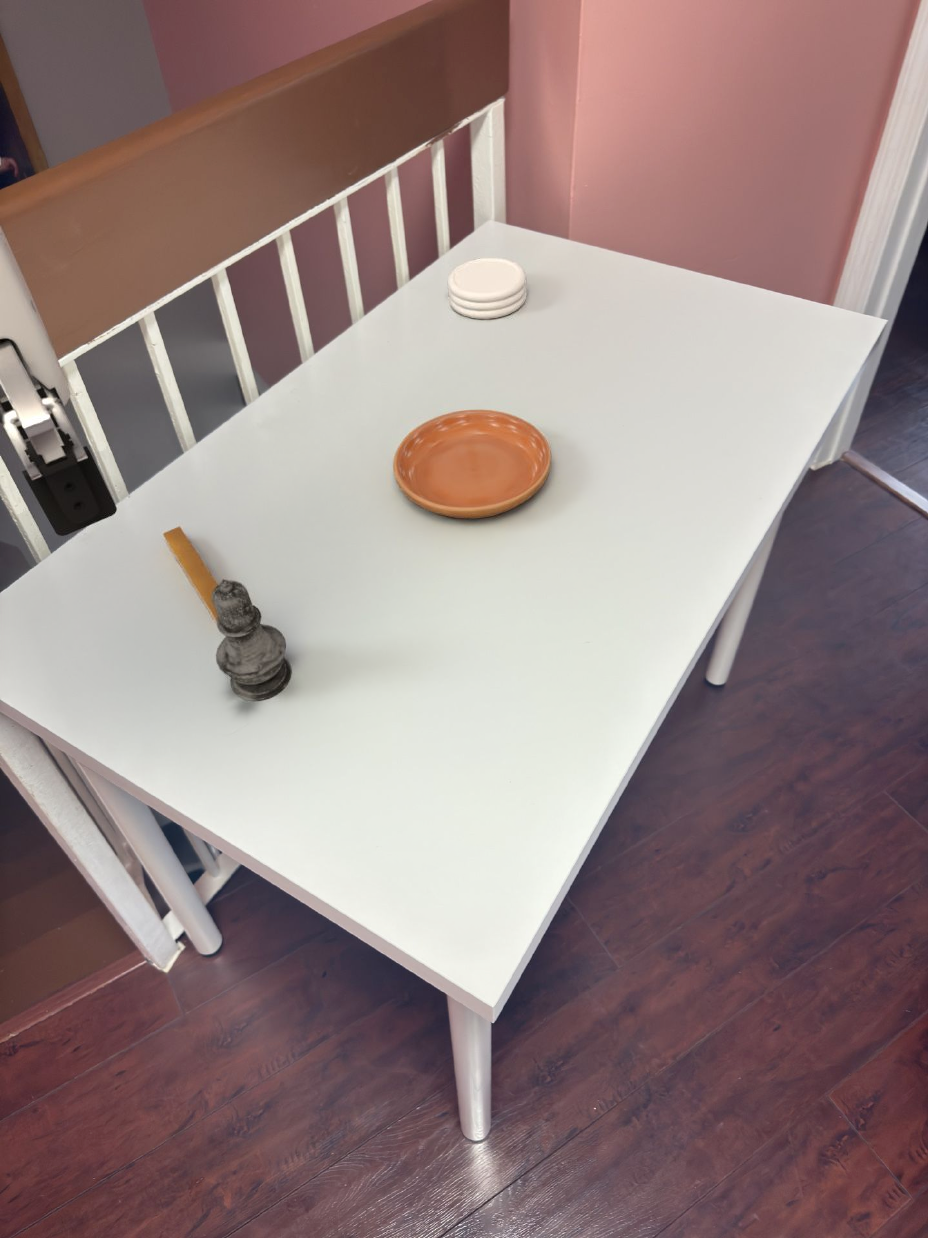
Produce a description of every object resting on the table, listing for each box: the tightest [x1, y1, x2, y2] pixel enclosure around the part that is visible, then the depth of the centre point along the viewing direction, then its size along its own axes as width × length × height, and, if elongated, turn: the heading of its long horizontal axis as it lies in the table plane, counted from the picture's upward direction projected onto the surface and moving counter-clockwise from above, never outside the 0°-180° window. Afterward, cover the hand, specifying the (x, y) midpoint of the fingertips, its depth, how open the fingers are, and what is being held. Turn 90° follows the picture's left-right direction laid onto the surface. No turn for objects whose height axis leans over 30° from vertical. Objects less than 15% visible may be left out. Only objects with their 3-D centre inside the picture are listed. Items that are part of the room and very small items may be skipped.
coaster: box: [447, 257, 528, 320], centre depth 117 cm, size 10×10×4 cm
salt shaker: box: [212, 578, 292, 702], centre depth 74 cm, size 6×6×12 cm
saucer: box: [392, 409, 552, 519], centre depth 93 cm, size 16×16×3 cm
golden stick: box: [162, 526, 219, 625], centre depth 86 cm, size 2×14×2 cm, turn 32°
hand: (61, 474), depth 50 cm, fingers open, 9 cm apart
